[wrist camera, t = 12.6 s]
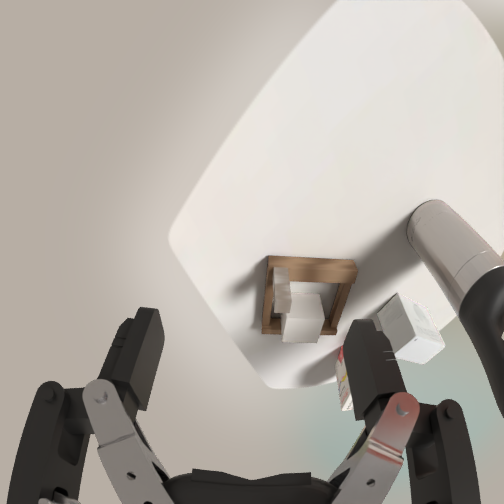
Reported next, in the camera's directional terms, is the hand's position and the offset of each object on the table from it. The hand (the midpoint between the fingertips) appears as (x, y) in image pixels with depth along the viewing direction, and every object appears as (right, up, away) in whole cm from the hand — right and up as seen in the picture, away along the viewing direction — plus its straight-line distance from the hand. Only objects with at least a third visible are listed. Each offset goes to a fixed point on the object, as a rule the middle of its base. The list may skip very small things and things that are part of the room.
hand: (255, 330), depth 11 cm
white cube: (+8, -6, +38) cm, 39 cm away
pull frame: (+9, -4, +36) cm, 38 cm away
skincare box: (+29, -8, +39) cm, 49 cm away
